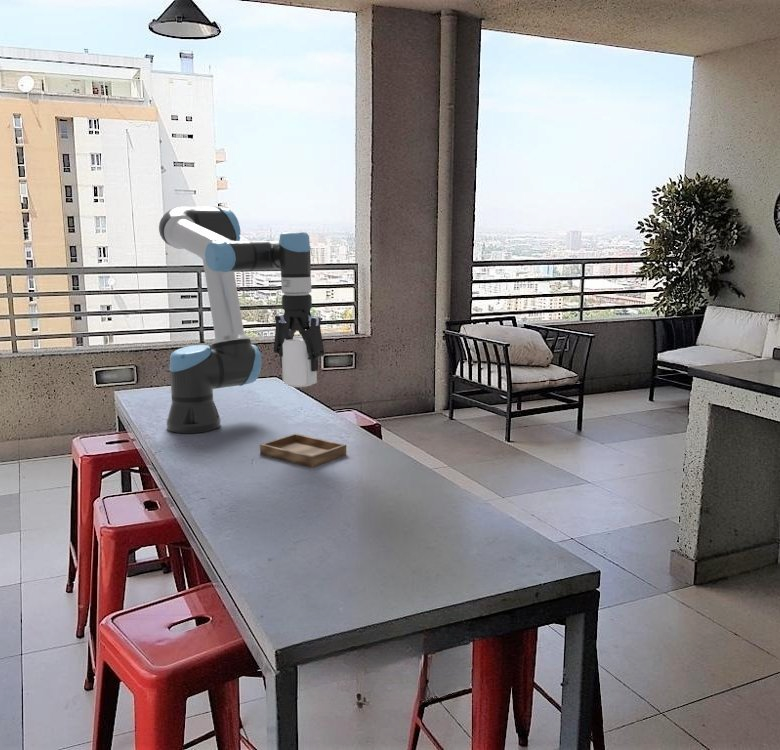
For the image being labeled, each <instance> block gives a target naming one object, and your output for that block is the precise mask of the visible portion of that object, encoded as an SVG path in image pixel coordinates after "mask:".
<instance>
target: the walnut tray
mask: <svg viewBox="0 0 780 750" xmlns="http://www.w3.org/2000/svg"><path fill="white" fill-rule="evenodd" d="M259 451H260V452H259V455H263V456H265V457H270V458H273V459H278V460H281V461H286V462H289V463H293V464H296V465H300V466H305V467H308V468H315V467H317V466H320V465H322V464H326V463H327V462H330V461H332V460H333V461H334V460H336V459H339V458H341V457H344V456H346V455H347V444H343V443H341V442H335V441H330V440H326V439H321V438H318V437H314V436H313V437H312V436H308V435H303V434H299V433H293V434H289V435H286V436H283V437H279V438H275V439H273V440H270V441H267V442H263V443H261V444H259Z"/></svg>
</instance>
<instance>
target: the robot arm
mask: <svg viewBox="0 0 780 750" xmlns="http://www.w3.org/2000/svg"><path fill="white" fill-rule="evenodd" d="M240 226H241V225H240V222H239V219H238V217H237V215H236V214H235V213H234V212H233V211H232V210H231V209H230V208H227V207H219V206H178V207H174V208H171V209H170V210H168V211H167V212H165V214H163V215H162V217H161V219H160V221H159V224H158V231H159V236H160V237H161V239H162V240H163V241H164V243H166V244H167V245H168V246H170V247H172V248H174V249H177V250H186V251H188V252H190V253H191V254H192V253H193V254H194V255H196V256H198V258H200V259H201V260H202V263H203V270H204V276H205V283H206V289H207V295H208V301H209V306H210V312H211V313H210V314H211V318H212V319H211V320H212V325H213V332H214V339H213V341H212V342H211V344H210V346H209V345H207V344H198V345H189V346H184V347H181V348H177V349H176V350H174V351H172V353H171V354H170V356H169V367H168V369H169V376H170V377H169V378H170V390H171V391H170V392H171V405H170V408H169V412H168V417H167V419H166V428H167V430H168V431H169V432H172V433H177V434H197V433H198V434H200V433H205V432H210V431H211V432H212V431H213V430H216V429H218V428H219V427H220V426H221V417H220V415H219V412H218V409H217V406H216V403H215V401H214V390H215V389H223V388H231V387H237V386H238V387H239V386H240V387H241V386H244V385H249V384H252V383H254V382H256V381H257V379H258V378H259V376H260V374H261V370H262V354H261V351H260V350H259V348H258V346H257V345H255V344H252V342H251V341H252V340H251V337H249V336H248V335H246V334H245V331H244V324H243V318H242V314H241V313H242V312H241V311H242V310H241V306H240V301H239V294H238V289H237V288H238V287H237V282H236V276H235V275H236V274H235V272H241V271H242V272H243V271H247V272H248V271H269V270H270V271H271V270H273V271H276V270H279V271H280V277H281V278H280V279H281V280H280V281H281V293H282V294H283V295H282V296H281V308H282V309H283V310H284V312H283V314H279V315H275V316H274V320H275V321H274V322H275V333H274V342H273V352H274V353H275V354H278V356H279V358H280V359H279V360H280V361H279V362H280V368H281V372H282V374H281V375H282V382H284V370H283V343H284V339H286V340H288V339H293V337H294V335H295V334H296V332H299V335H300V336H301V337H302V338H303V340H305V341H304V342H305V344H306V349H307V352H308V355H309V358H308V359H307V376H308V384H309V385H310V386H312V385H314V384H317V383H318V378H317V377H318V376H317V375H318V373H317V372H318V371H319V358H320V357H324V356H325V348H324V342H323V336H322V330H321V329H322V328H321V323H322V320H321V319H322V318H321V317H319V316H317V317H315V316H312V314H311V309H312V307H313V305H312V304H313V303H312V302H313V298H312V295H311V294H310V293H311V292H312V277H311V276H312V275H311V274H312V266H311V262H312V261H311V260H312V259H311V250H312V249H311V244H310V243H311V242H310V235H309V234H308V232H306V231H305V232H303V231H301V232H299V231H296V232H294V231H293V232H291V231H290V232H281V233H280V235H279V240H274V239H272V240H271V239H270V240H269V239H266V240H241V236H240V235H241V227H240ZM313 353H314V354H313ZM311 384H312V385H311Z"/></svg>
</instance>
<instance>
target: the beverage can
mask: <svg viewBox="0 0 780 750" xmlns="http://www.w3.org/2000/svg"><path fill="white" fill-rule="evenodd" d="M304 341H305V340H303V338H302V336H295V337H293V339H288V340H286V339H284V343H283V370H284V381H283V384H284V385H286V386H288V387H290V388H304V387H310V386H312V385H313V384H311V385H309V384H308V376H307V359H308V358H309V355H308V352H307V349H306V344H305V342H304ZM313 354H314V353H313Z"/></svg>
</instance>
